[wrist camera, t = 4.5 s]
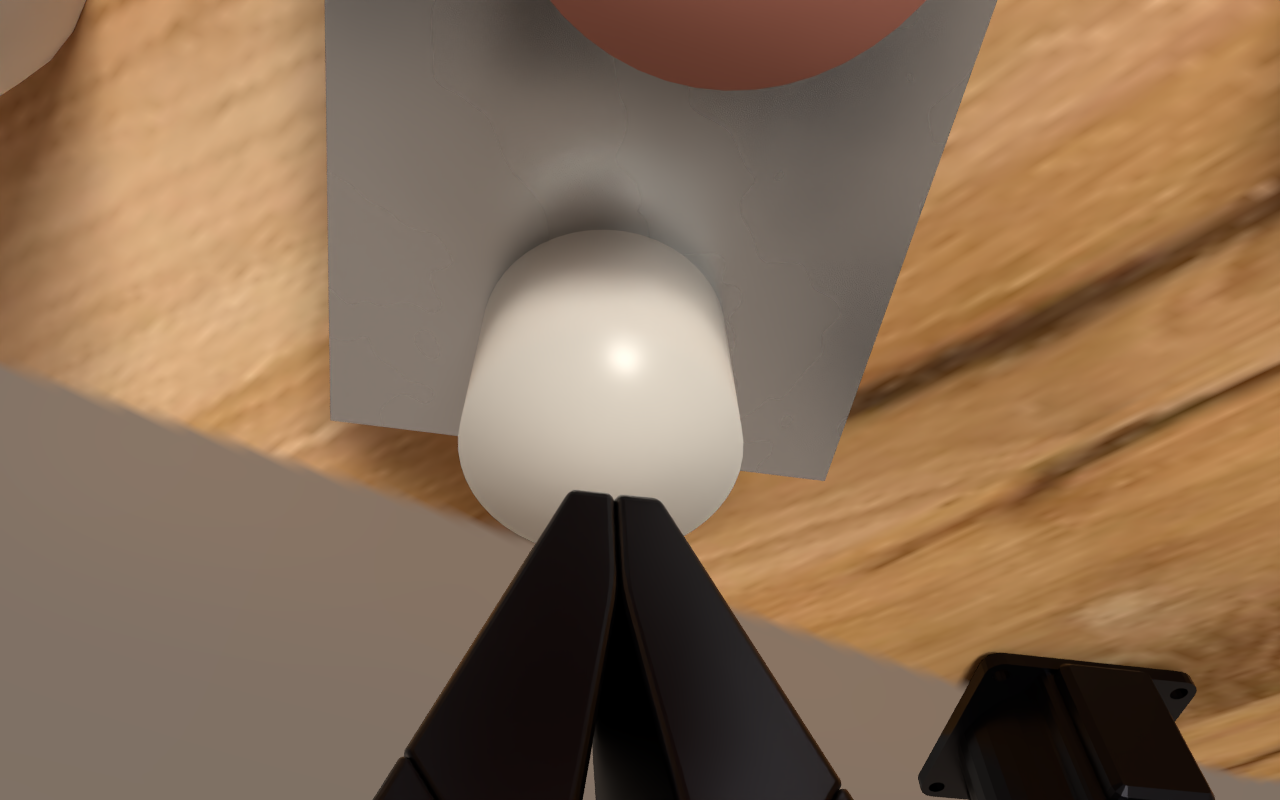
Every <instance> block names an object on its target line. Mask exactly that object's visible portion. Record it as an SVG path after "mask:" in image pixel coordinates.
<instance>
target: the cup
mask: <svg viewBox="0 0 1280 800" xmlns="http://www.w3.org/2000/svg"><path fill="white" fill-rule="evenodd" d="M85 2H86V0H0V96H1V95H2V94H4V93H5V92H7V91H8V90H10V89H12V88H13V87H15V86H16V85H18V84H19V83H21V82H22V81H24V80H25V79H26V78H28V77H29V76H30V75H32V74H33V73H34V72H36V71H37V70H38V69H40V68H41V67H42V66H44V65H45V64H46V63H48V62H49V61H51V59H52V58H53V57H54V55H55V54H56V53H57V52H58V50H59V49H60V48H61V46H62V45H63V44H64V43H65V41H66V40H67V39H68V37H69V36H70V35H71V33H72V32H73V31H74V28H75V26H76V23H77V21H78V19H79V16H80V14H81V12H82V9H83V7H84V4H85Z"/></svg>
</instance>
